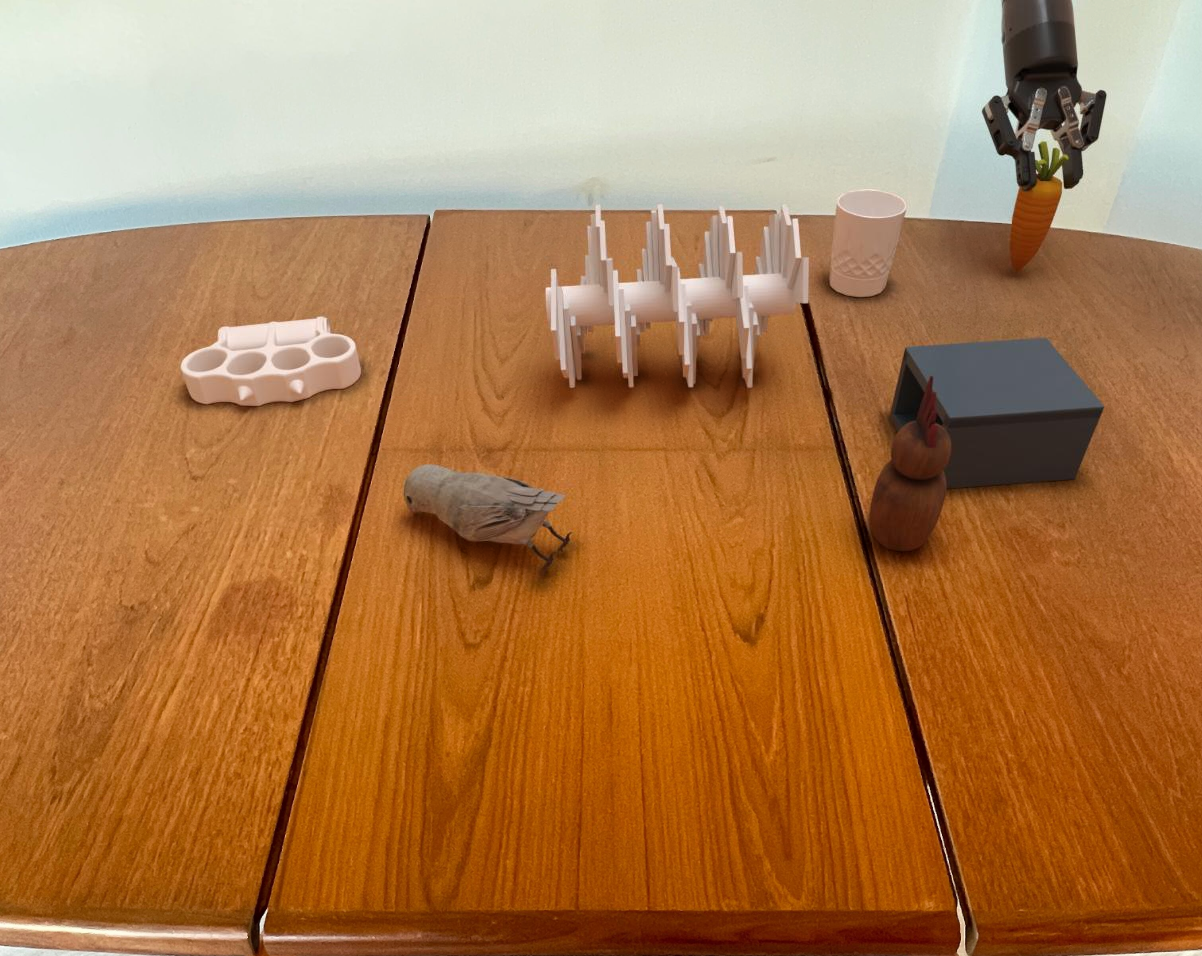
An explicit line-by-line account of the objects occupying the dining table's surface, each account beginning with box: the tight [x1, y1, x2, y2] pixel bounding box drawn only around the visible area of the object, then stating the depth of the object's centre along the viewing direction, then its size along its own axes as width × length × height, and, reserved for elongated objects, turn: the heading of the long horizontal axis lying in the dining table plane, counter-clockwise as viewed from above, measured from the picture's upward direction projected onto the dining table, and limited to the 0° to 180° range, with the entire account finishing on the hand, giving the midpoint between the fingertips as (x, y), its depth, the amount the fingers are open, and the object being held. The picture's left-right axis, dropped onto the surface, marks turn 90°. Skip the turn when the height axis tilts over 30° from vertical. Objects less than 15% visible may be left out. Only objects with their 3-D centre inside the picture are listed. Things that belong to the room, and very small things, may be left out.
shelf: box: [888, 337, 1105, 490], centre depth 92 cm, size 14×12×8 cm
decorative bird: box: [403, 463, 573, 578], centre depth 84 cm, size 5×16×8 cm, turn 62°
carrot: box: [1009, 141, 1068, 273], centre depth 115 cm, size 5×5×15 cm
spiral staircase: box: [545, 203, 810, 389], centre depth 99 cm, size 18×18×25 cm
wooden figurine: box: [869, 376, 951, 552], centre depth 81 cm, size 7×6×15 cm
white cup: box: [828, 188, 908, 298], centre depth 116 cm, size 8×8×10 cm
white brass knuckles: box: [180, 316, 362, 407], centre depth 105 cm, size 3×18×15 cm
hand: (1051, 186), depth 111 cm, fingers closed on carrot, 4 cm apart
